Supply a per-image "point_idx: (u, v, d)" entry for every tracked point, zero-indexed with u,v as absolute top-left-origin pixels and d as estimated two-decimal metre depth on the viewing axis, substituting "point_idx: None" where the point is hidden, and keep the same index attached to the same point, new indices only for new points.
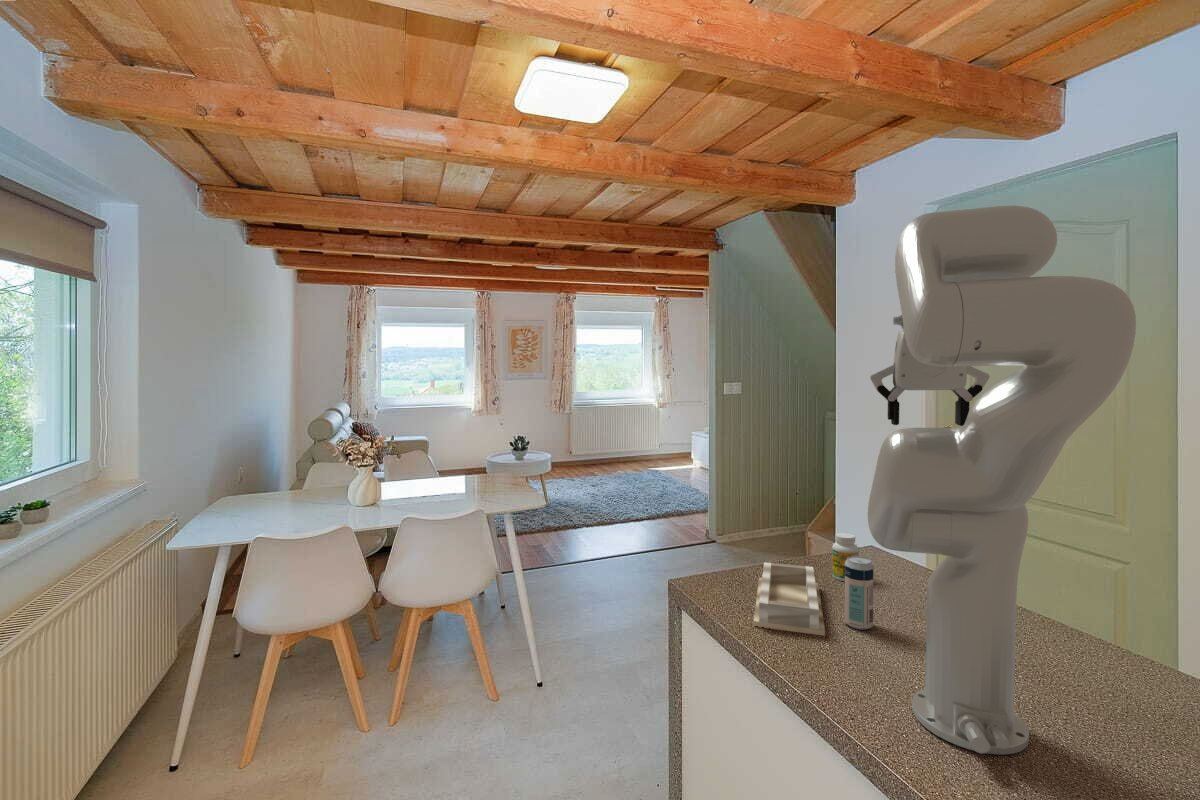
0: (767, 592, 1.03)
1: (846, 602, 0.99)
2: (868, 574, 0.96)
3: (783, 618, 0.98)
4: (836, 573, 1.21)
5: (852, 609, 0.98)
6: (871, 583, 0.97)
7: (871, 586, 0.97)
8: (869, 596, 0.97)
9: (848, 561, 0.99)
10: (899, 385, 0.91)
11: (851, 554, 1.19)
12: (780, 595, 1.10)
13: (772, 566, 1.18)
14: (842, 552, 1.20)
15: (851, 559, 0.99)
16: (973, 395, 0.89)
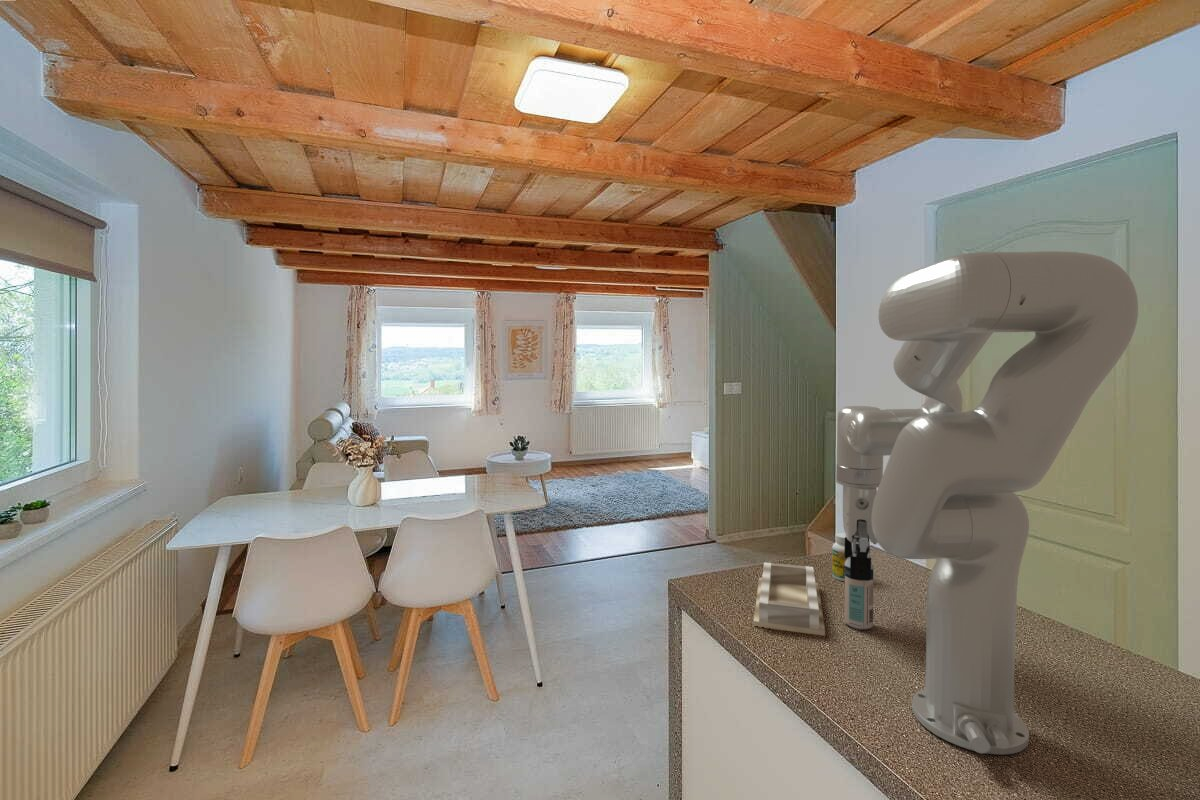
0: (767, 592, 1.03)
1: (846, 602, 0.99)
2: None
3: (783, 618, 0.98)
4: (836, 573, 1.21)
5: (852, 609, 0.98)
6: (871, 583, 0.97)
7: (871, 586, 0.97)
8: (869, 596, 0.97)
9: (848, 561, 0.99)
10: (877, 541, 0.94)
11: None
12: (780, 595, 1.10)
13: (772, 566, 1.18)
14: (842, 552, 1.20)
15: None
16: None
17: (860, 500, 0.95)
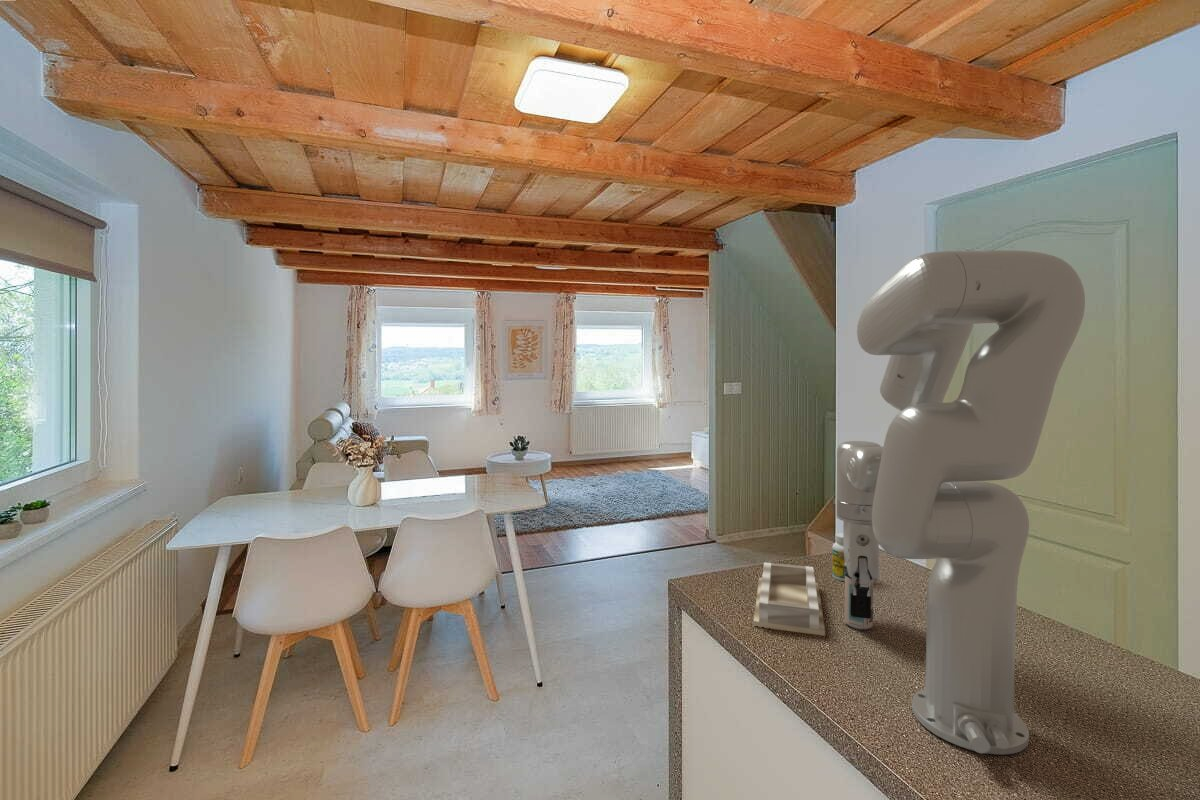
0: (767, 592, 1.03)
1: (846, 602, 0.99)
2: None
3: (783, 618, 0.98)
4: (836, 573, 1.21)
5: None
6: (871, 583, 0.97)
7: (871, 586, 0.97)
8: None
9: None
10: (878, 578, 0.93)
11: None
12: (780, 595, 1.10)
13: (772, 566, 1.18)
14: (842, 552, 1.20)
15: None
16: None
17: (860, 536, 0.95)
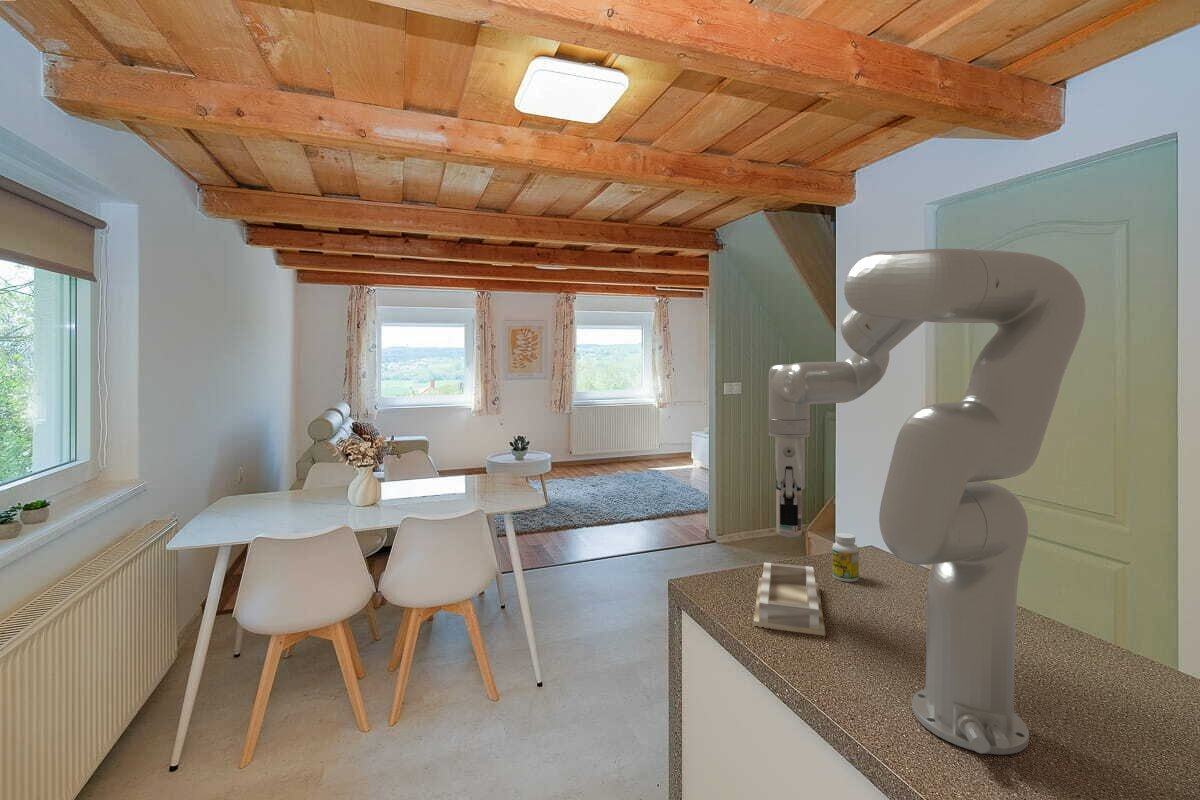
0: (767, 592, 1.03)
1: (777, 513, 1.07)
2: None
3: (783, 618, 0.98)
4: (836, 573, 1.21)
5: None
6: (799, 494, 1.05)
7: (799, 497, 1.05)
8: None
9: None
10: (803, 486, 1.01)
11: (851, 554, 1.19)
12: (780, 595, 1.10)
13: (772, 566, 1.18)
14: (842, 552, 1.20)
15: None
16: None
17: (787, 449, 1.03)
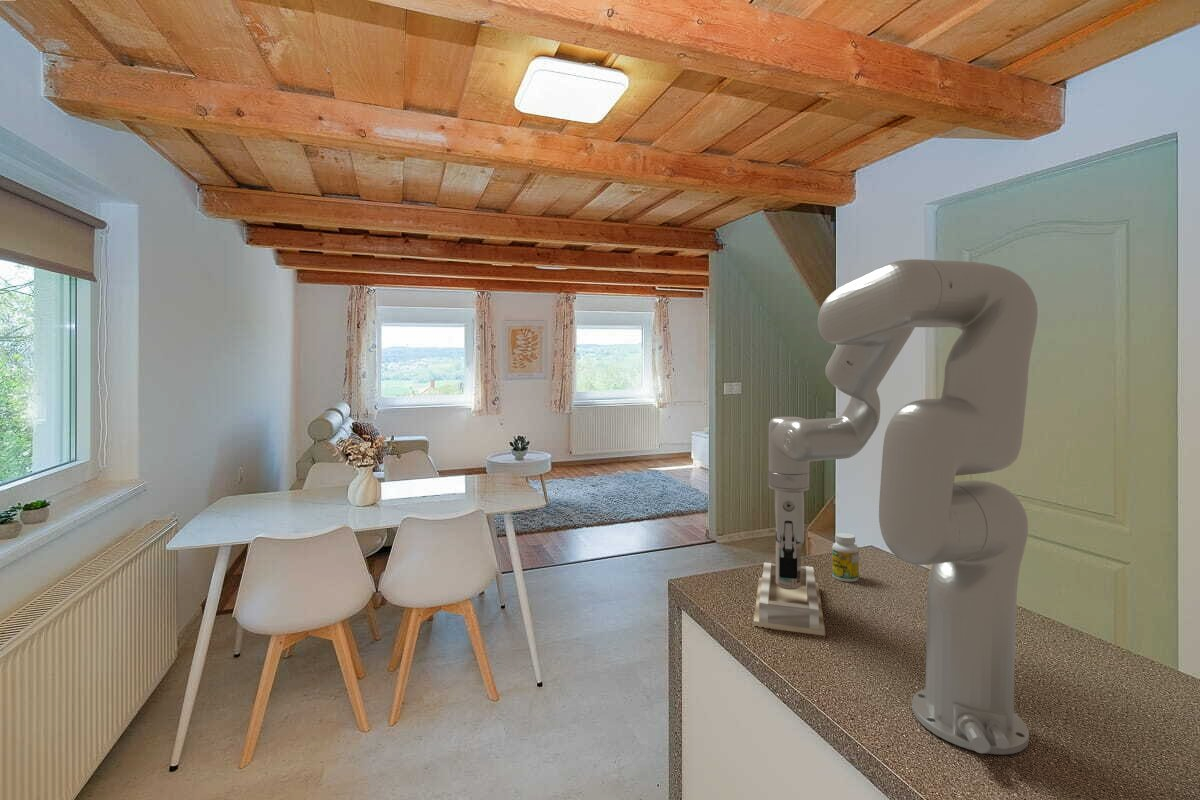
0: (767, 592, 1.03)
1: (776, 564, 1.07)
2: None
3: (783, 618, 0.98)
4: (836, 573, 1.21)
5: None
6: (798, 546, 1.05)
7: (798, 549, 1.05)
8: None
9: None
10: (802, 541, 1.02)
11: (851, 554, 1.19)
12: (780, 595, 1.10)
13: (772, 566, 1.18)
14: (842, 552, 1.20)
15: None
16: None
17: (787, 503, 1.03)
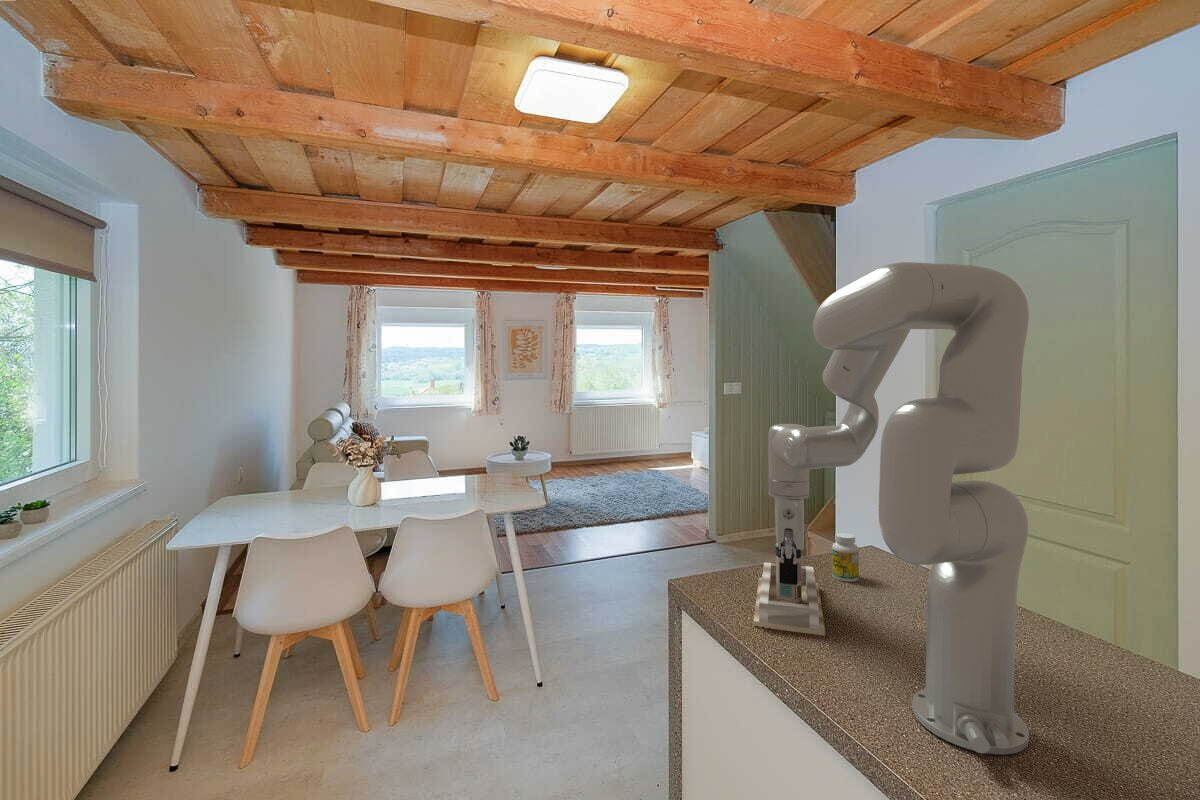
0: (767, 592, 1.03)
1: (777, 579, 1.07)
2: None
3: (783, 618, 0.98)
4: (836, 573, 1.21)
5: (782, 586, 1.06)
6: (798, 561, 1.05)
7: (798, 564, 1.05)
8: None
9: None
10: (802, 548, 1.02)
11: (851, 554, 1.19)
12: None
13: (772, 566, 1.18)
14: (842, 552, 1.20)
15: None
16: None
17: (787, 510, 1.03)
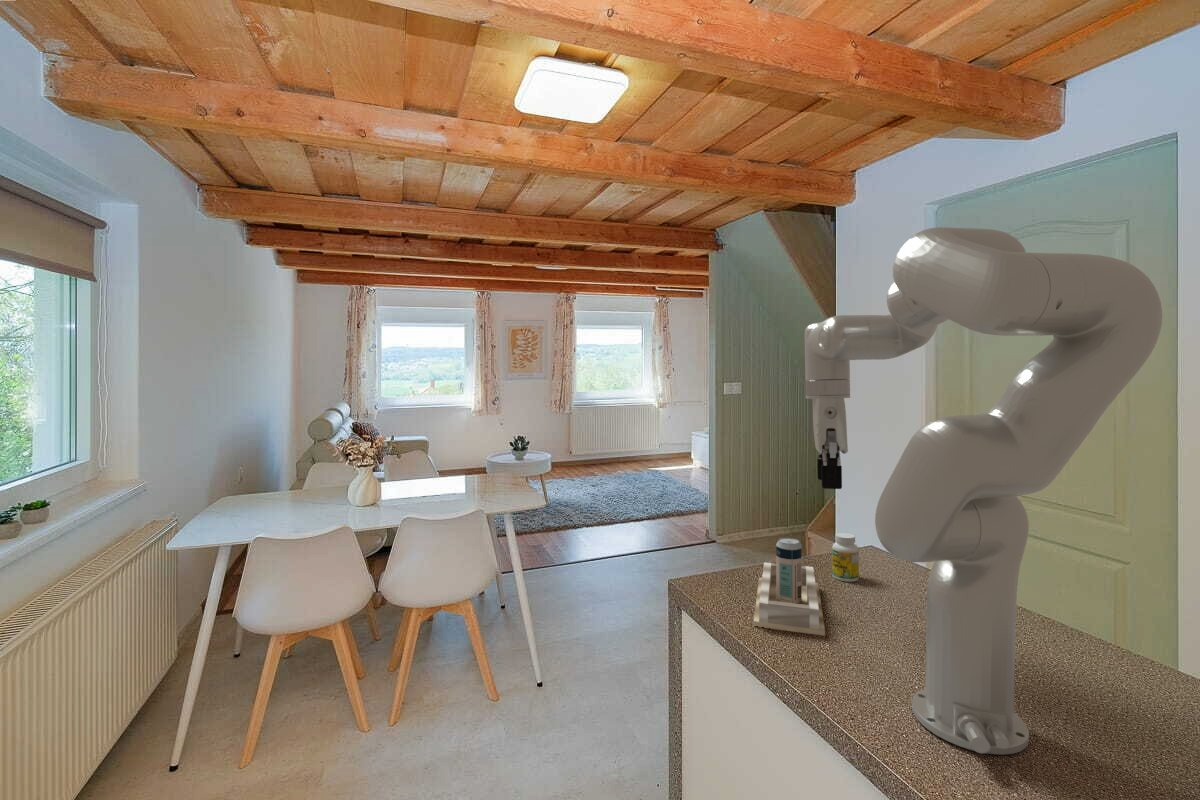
0: (767, 592, 1.03)
1: (777, 580, 1.07)
2: (795, 553, 1.05)
3: (783, 618, 0.98)
4: (836, 573, 1.21)
5: (782, 586, 1.06)
6: (799, 562, 1.05)
7: (799, 564, 1.05)
8: (797, 573, 1.05)
9: (778, 542, 1.07)
10: (846, 449, 0.95)
11: (851, 554, 1.19)
12: None
13: (772, 566, 1.18)
14: (842, 552, 1.20)
15: (782, 540, 1.08)
16: None
17: (828, 410, 0.96)
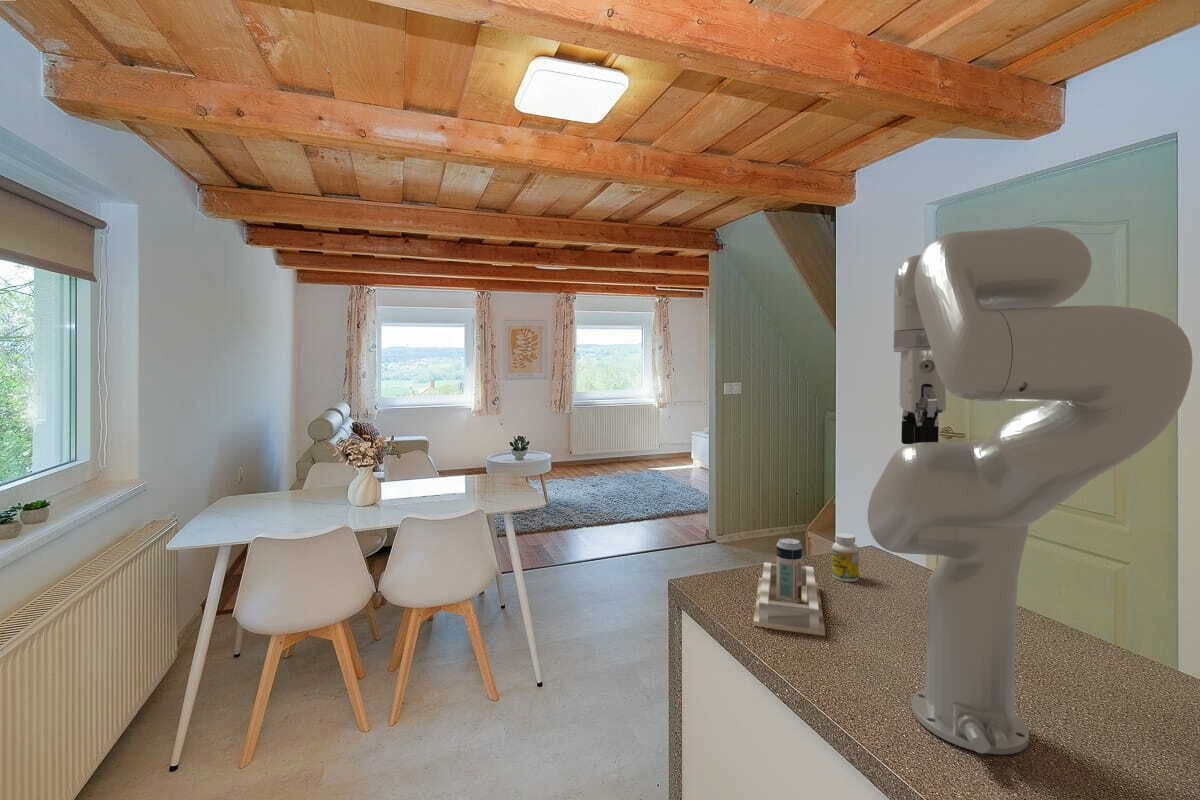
0: (767, 592, 1.03)
1: (777, 580, 1.07)
2: (796, 553, 1.05)
3: (783, 618, 0.98)
4: (836, 573, 1.21)
5: (782, 586, 1.06)
6: (799, 562, 1.05)
7: (799, 564, 1.05)
8: (797, 574, 1.05)
9: (779, 542, 1.07)
10: (944, 408, 0.84)
11: (851, 554, 1.19)
12: None
13: (772, 566, 1.18)
14: (842, 552, 1.20)
15: (782, 540, 1.08)
16: None
17: (924, 364, 0.85)
